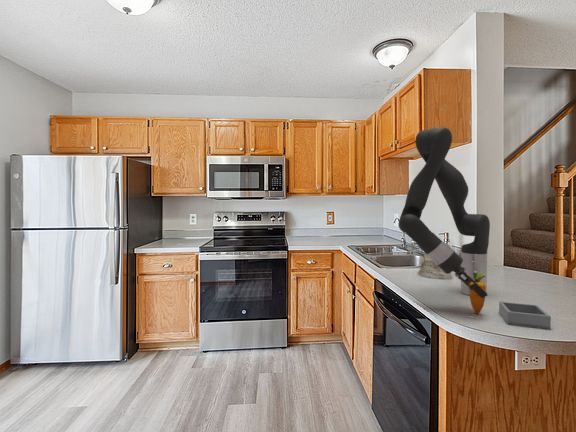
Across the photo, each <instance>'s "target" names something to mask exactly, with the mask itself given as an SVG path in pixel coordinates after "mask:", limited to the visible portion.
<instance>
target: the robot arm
mask: <svg viewBox="0 0 576 432" xmlns="http://www.w3.org/2000/svg"><path fill="white" fill-rule="evenodd" d="M452 142H453V134H452V132H451V130H450V129H449V128H447V127H442V126H440V127H433V128H427V129H423V130H420V131H419V132H418V133H417V134H416V137H415V146H416V150H417V152H418V153H419V155H420V156H421V158H422V159H423V161H424V162H425V164H424V166H423V167H422V168H421V169H420V171H419V172H418V174H417V175H416V176H415V177H414V179H413V180H412V181H411V184H410V185H409V189H408V191H407V195H406V198H405V203H404V206H403V209H402V212H401V215H400V216H399V220H398V228H399V230H400V231H401V232H402V233H404V234H406V235H407V236H408V237H409V238H411V240H412V241H413V242H415V243H416V245H417V246H418V247H419V249H420V250H422V252H423V253H426V254H427V255H428V256H429V258H430V259H431V260H432V261H433V262H434V263H435V264H436V265H437V266H438V267H439V268H441V269H442V270H443V271H444V272H445V273H446V274H449V273H451V274H452V272H454V276H455V277H456V278H457V279H458V280H460V292H461V294H463V295H466V296H469V288H470V289H471V290H474V291H475V292H476V293H477V294H478V295H479V296H480V297H481V298H484V297H485V298H486V297H487V296H488V293H487V290H488V289H487V287H488V249H489V246H490V245H489V244H490V243H489V242H490V231H491V230H490V228H491V223H490V219H489V217H488V215H486V214H481V213H480V214H479V213H478V214H477V213H468V212H467V210H466V209H465V203H466V200H467V198H468V196H469V187H468V183H467V181H466V179H465V177H464V175H463V174H462V172H461V171H460V170H458V169H457V168H456V167H455V166H454V165H453V164H451V163H450V162H449V161H448V160H446V157H447V155H448V153H449V152H450V149H451V145H452V144H453V143H452ZM434 181H435V182H436V184H437V186H438V188H439V191H440V192H441V194H442V196H443V198H444V199H445V202H446V204H447V205H448V207H449V210H450V213H451V216H452V219H453V221H454V224H455V227H456V229H457V231H458V233H460V235H462V236H467V237H474V238H473V241H471V242H470V243H465V244H462V245H461V248H460V249H461V253H460V254H461V256H460V255H459V254H458V253H457V252H456V251H455V250H454V249H452V248H451V247H450V246H449V245H448V244H447V243H445V242H444V241H443V240H442V239H441V238H439V237H438V236H437V235H436V234H435V233H434V232H433V231H432V230H431V229H430V228H429V227H428V226H427V225H426V224H425V223H424V222H423V221H422V220H421V216H422V213H423V211H424V209H425V207H426V205H427V202H428V199H429V195H430V192H431V189H432V187H433V184H434ZM475 271H477V278H478V276H479V273H480V272H482V274H481V276H482V275H486V276H485V277H483V278H482V279H481V280H480V281H481V282H483V283H484V284H485V285H486V292H485V291H484V290H483V289H482V288H481V287H480V286H479V285H478V284H477V283H476V282H475V278H474V275H473V272H475ZM471 282H473V283H474V284H473V285H472V286H470V285H469V283H471Z"/></svg>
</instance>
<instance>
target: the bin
mask: <svg viewBox="0 0 576 432" xmlns="http://www.w3.org/2000/svg"><path fill="white" fill-rule="evenodd" d="M498 304H499V305H498V306H499V307H498V313H499V314H500V317H501V318H502V319H503V320H504V321H505V323H506V325H509V326H510V325H511V326H517V327H524V328H525V327H527V328H533V329H541V330H543V329H544V330H549V331H550V330H551V319H552V318H551V317H552V316H551V315H550V314H548V313H547V312H546V311H545V310H544V309H543V308H541V307H540V306H539V305H538V304H528V303H520V302H519V303H518V302H510V301H509V302H507V301H499V302H498Z"/></svg>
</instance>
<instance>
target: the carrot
mask: <svg viewBox="0 0 576 432" xmlns="http://www.w3.org/2000/svg"><path fill="white" fill-rule="evenodd" d="M481 274H482V272H480V273H479V276H478V278H477V271H475V272H473V275H474V278H475V282H476V283H477V284H478V285H479V286H480V287H481V288H482V289H483V290H484V291H485V292H486V285H485V284H484V283H483V282H481V281H480V280H481V279H482V278H483V277H485V276H486V275H482V276H481ZM473 284H474V283H473V282H471V283H469V285H470V286H472V285H473ZM468 296H469V300H470V304H471V307H472V309H473V311H474V313H475V314H476V315H478V314H480V313H481V312H482V310H483V307H484V304H485V301H486V297H484V298H481V297H480V296H479V295H478V294H477V293H476V292H475V291H474V290H471V289H470V288H469V295H468Z"/></svg>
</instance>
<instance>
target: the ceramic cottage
mask: <svg viewBox="0 0 576 432" xmlns="http://www.w3.org/2000/svg"><path fill="white" fill-rule="evenodd" d="M417 274H418V275H419V276H420V277H421V278H425V279H435V280H444V281H445V280H446V281H447V280H448V281H449V280H453V274H452V272H451V273H449V274H446V273H445V272H444V271H443V270H442V269H441V268H439V267H438V266H437V265H436V264H435V263H434V262H433V261H432V260H431V259H430V258H429V256H428V255H427V254H426V253H425V252H423V257H420V268H419V270H418V273H417Z"/></svg>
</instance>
